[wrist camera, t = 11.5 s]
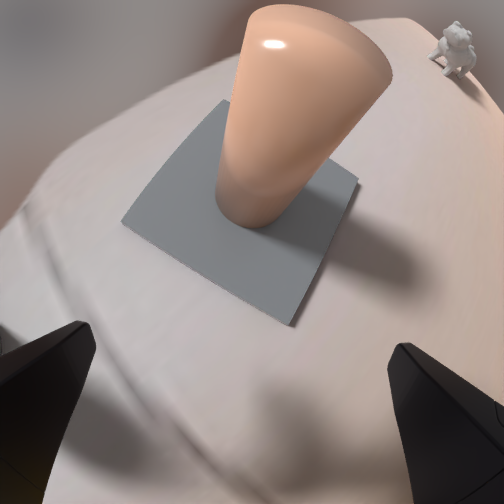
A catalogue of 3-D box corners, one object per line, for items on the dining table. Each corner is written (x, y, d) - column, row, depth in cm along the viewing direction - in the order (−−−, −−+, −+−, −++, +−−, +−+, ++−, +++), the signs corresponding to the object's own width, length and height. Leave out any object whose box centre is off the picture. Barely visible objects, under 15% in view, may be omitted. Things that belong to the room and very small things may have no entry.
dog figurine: (414, 52, 30) (445, 12, 19) (446, 59, 33) (474, 28, 23) (435, 76, 29) (471, 36, 19) (464, 80, 32) (494, 49, 22)
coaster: (285, 325, 17) (288, 325, 16) (123, 224, 16) (120, 221, 16) (355, 181, 20) (358, 178, 20) (222, 104, 20) (223, 99, 19)
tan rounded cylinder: (295, 219, 18) (416, 98, 6) (226, 236, 17) (283, 90, 5) (272, 158, 19) (348, 14, 7) (207, 170, 17) (230, 1, 6)
